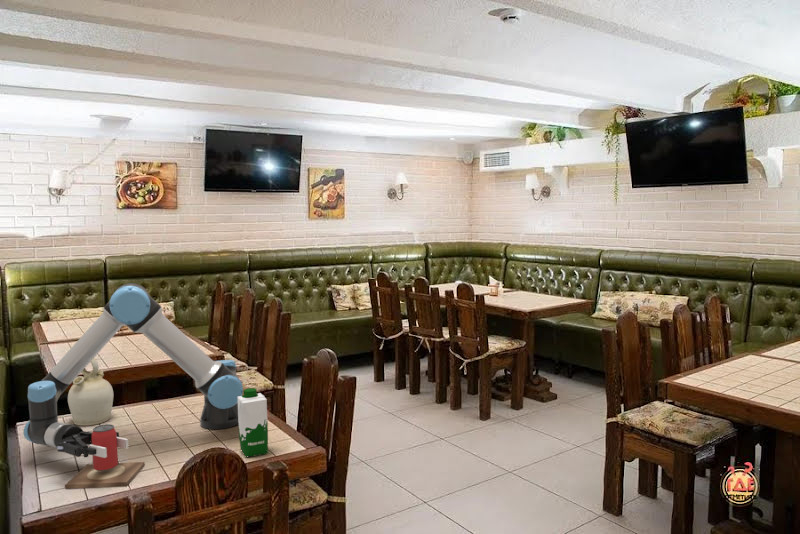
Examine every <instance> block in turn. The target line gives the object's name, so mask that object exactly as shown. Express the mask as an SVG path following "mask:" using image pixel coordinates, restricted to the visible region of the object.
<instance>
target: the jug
mask: <svg viewBox="0 0 800 534" xmlns="http://www.w3.org/2000/svg"><path fill="white" fill-rule="evenodd" d="M90 364H91V366H92V370H91V371H88V370H87V369H86V367H85V368H84V369H83V370H82V371H81V373H80V374H82V375H83V376H82V375H78V376H77V377H76V378H75V379H74V380H73V381H72V385H71V387H70V388H69V391H68V394H67V403H68V408H69V411H70V415H71V419H72V421H73V425H75V426H79V427H80V426H81V427H85V426H87V427H88V426H95V425H101V424H102V423H104V422H107V421H108V420H110V418H111V415H112V410H113V405H114V404H113V402H114V397H115V396H114V390H113V386H112V385H111V383H110V382H109V381H108V380H107V379H104V378H103V377H104V376H105V374H104V370H103V369H99V367H100V366H99V363H98V360H97V359H96V358H95V357H94V358H93V359H92V360H91V361H90Z"/></svg>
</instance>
